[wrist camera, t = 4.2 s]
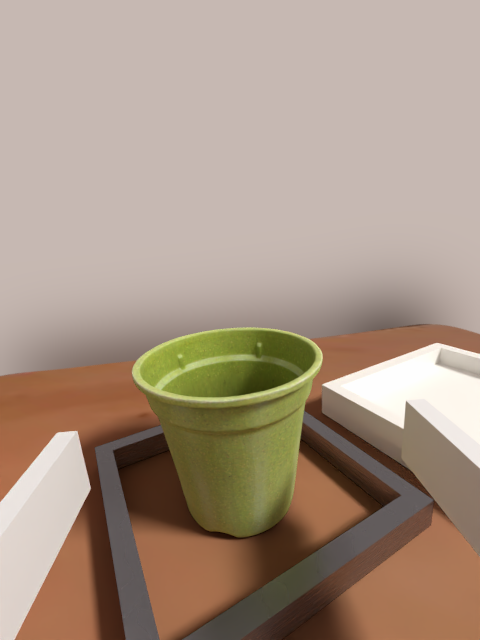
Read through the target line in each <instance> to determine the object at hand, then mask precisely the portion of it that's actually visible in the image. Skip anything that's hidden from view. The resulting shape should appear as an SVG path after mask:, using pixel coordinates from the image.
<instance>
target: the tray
mask: <svg viewBox="0 0 480 640" xmlns="http://www.w3.org/2000/svg"><path fill="white" fill-rule="evenodd" d="M417 399H425V400H426V401H428V402H429V403H430V404H431V405H432V406H434V407H435V408H436V409H437V410H438V411H440V412H441V413H442V414H443V415H445V416H446V417H447V418H448V419H449V420H451V421H452V422H453V423H454V424H455V425H457V426H458V427H459V428H460V429H461V430H463V431H464V432H465V433H466V434H468V435H469V436H470V437H471V438H472V439H474V440H475V441H476V442H477V443H478V444H480V354H477V353H473V352H469V351H466V350H462V349H458V348H454V347H451V346H447V345H443V344H439V343H435V344H432V345H430V346H427V347H424V348H421V349H419V350H416V351H413V352H410V353H408V354H405V355H402V356H399V357H397V358H394V359H391V360H388V361H386V362H383V363H380V364H377V365H375V366H372V367H369V368H366V369H364V370H361V371H358V372H355V373H353V374H350V375H347V376H344V377H342V378H339V379H336V380H333V381H331V382H328V383H325V384H322V413H323V414H325V415H326V416H328V417H329V418H331V419H332V420H334V421H336V422H337V423H339V424H340V425H342V426H343V427H345V428H346V429H348V430H349V431H351V432H352V433H354V434H356V435H357V436H359V437H360V438H362V439H363V440H365V441H366V442H368V443H369V444H371V445H372V446H374V447H375V448H377V449H379V450H380V451H382V452H383V453H385V454H386V455H388V456H389V457H391V458H392V459H394V460H395V461H397V462H398V463H400V464H402V465H403V466H405V467H406V468H408V469H409V470H410V468H409V467H408V466H407V465H406V463H405V462H404V461H403V460H402V458H401V456H402V443H403V430H404V418H405V405H406V400H417Z"/></svg>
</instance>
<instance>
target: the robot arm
mask: <svg viewBox="0 0 480 640" xmlns="http://www.w3.org/2000/svg"><path fill="white" fill-rule="evenodd" d="M401 458H402V460H403V461H404V462H405V463H406V465H407V466H408V467H409V468H410V470H411V471H412V472H413V473H414V475H415V476H416V477H417V478H418V480H419V481H420V482H421V483H422V485H423V486H424V487H425V489H426V490H427V491H428V492H429V494H430V495H431V496H432V497H433V499H434V500H435V501H436V502H437V504H438V505H439V506H440V507H441V509H442V510H443V511H444V512H445V514H446V515H447V516H448V517H449V519H450V520H451V521H452V523H453V524H454V525H455V526H456V528H457V529H458V530H459V531H460V533H461V534H462V535H463V536H464V538H465V539H466V540H467V541H468V543H469V544H470V545H471V546H472V548H473V549H474V550H475V552H476V553H477V554H478V555H479V557H480V444H478V443H477V442H476V441H475V440H474V439H472V438H471V437H470V436H469V435H468V434H466V433H465V432H464V431H463V430H461V429H460V428H459V427H458V426H457V425H455V424H454V423H453V422H452V421H451V420H449V419H448V418H447V417H446V416H445V415H443V414H442V413H441V412H440V411H438V410H437V409H436V408H435V407H434V406H432V405H431V404H430V403H429V402H428V401H426V400H425V399H417V400H406V405H405V418H404V430H403V443H402V456H401ZM90 489H91V487H90V483H89V478H88V474H87V470H86V466H85V462H84V457H83V453H82V449H81V445H80V441H79V436H78V432H77V431H70V432H60V433H57V434H56V435H55V436H54V437H53V439H52V440H51V441H50V442H49V443H48V445H47V446H46V447H45V448H44V450H43V451H42V452H41V453H40V454H39V456H38V457H37V458H36V459H35V461H34V462H33V463H32V464H31V466H30V467H29V468H28V469H27V470H26V472H25V473H24V474H23V475H22V477H21V478H20V479H19V480H18V481H17V483H16V484H15V485H14V486H13V488H12V489H11V490H10V491H9V493H8V494H7V495H6V496H5V497H4V499H3V500H2V501H1V502H0V640H14V639H15V637H16V635H17V633H18V631H19V629H20V628H21V626H22V624H23V622H24V620H25V618H26V616H27V614H28V612H29V610H30V608H31V606H32V604H33V602H34V600H35V598H36V596H37V594H38V592H39V590H40V588H41V586H42V584H43V582H44V580H45V578H46V576H47V574H48V572H49V570H50V568H51V566H52V564H53V562H54V560H55V558H56V557H57V555H58V553H59V551H60V549H61V547H62V545H63V543H64V541H65V539H66V537H67V535H68V533H69V531H70V529H71V527H72V525H73V523H74V521H75V519H76V517H77V515H78V513H79V511H80V509H81V507H82V505H83V503H84V501H85V499H86V497H87V495H88V493H89V491H90Z"/></svg>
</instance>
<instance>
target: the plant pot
mask: <svg viewBox="0 0 480 640" xmlns="http://www.w3.org/2000/svg"><path fill="white" fill-rule="evenodd" d="M321 365H322V352H321V350H320V349H319V348H318V346H317V345H316V344H315V343H314V342H312V341H311V340H309V339H307V338H305V337H303V336H300V335H298V334H294V333H291V332H285V331H282V330H276V329H267V328H229V329H219V330H211V331H205V332H200V333H195V334H190V335H186V336H182V337H179V338H175V339H173V340H170V341H168V342H165V343H163V344H160V345H158V346H156V347H155V348H153V349H152V350H150V351H147V352H146V353H144V354H143V355H142V356H141V357H140V358H139V359H138V360H137V361H136V363H135V364H134V366H133V369H132V377H133V381H134V383H135V385H136V387H137V388H138V389H139V390H140V391H141V392H142V393H144V394H145V395H146V396H147V399H148V402H149V404H150V407H151V409H152V410H153V412H154V413H155V414H156V415H157V416H158V418H159V421H160V423H161V426H162V429H163V432H164V435H165V438H166V441H167V444H168V447H169V450H170V452H171V455H172V458H173V461H174V464H175V467H176V470H177V473H178V476H179V479H180V483H181V486H182V489H183V493H184V496H185V499H186V502H187V505H188V508H189V511H190V513H191V515H192V517H193V518H194V519H195V521H196V522H197V523H198V524H199V525H200V526H201V527H203V528H204V529H206V530H208V531H218V532H223V533H227V534H230V535H233V536H235V537H248V536H252V535H256V534H259V533H261V532H264V531H266V530H268V529H270V528H271V527H273V526H274V525H276V524H277V523H278V522H279V521H280V520H281V519H282V518H283V517H284V516H285V514H286V513H287V511H288V509H289V507H290V504H291V501H292V497H293V493H294V485H295V478H296V469H297V461H298V453H299V445H300V437H301V430H302V421H303V414H304V408H305V401H306V400H307V398H308V396H309V394H310V391H311V387H312V381H313V378H314V377H315V376H316V375H317V373H318V372H319V370H320V368H321Z"/></svg>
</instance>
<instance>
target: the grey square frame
mask: <svg viewBox="0 0 480 640" xmlns="http://www.w3.org/2000/svg"><path fill="white" fill-rule="evenodd" d="M300 438H301V439H302V440H303V441H304V442H306V443H307V444H308V445H309V446H310V447H312V448H313V449H314V450H315V451H317V452H318V453H319V454H320V455H321V456H323V457H324V458H325V459H326V460H328V461H329V462H330V463H331V464H332V465H334V466H335V467H336V468H337V469H339V470H340V471H341V472H342V473H343V474H345V475H346V476H347V477H348V478H350V479H351V480H352V481H353V482H354V483H356V484H357V485H358V486H359V487H361V488H362V489H363V490H364V491H365V492H367V493H368V494H369V495H370V496H372V497H373V498H374V499H375V500H376V501H378V502H379V503H380V504H381V505H383V506H384V507H383V508H381V509H380V510H378V511H377V512H375V513H374V514H372V515H371V516H369V517H368V518H366V519H365V520H363V521H362V522H360V523H359V524H357V525H356V526H354V527H353V528H351V529H349V530H348V531H346V532H345V533H343V534H342V535H340V536H339V537H337V538H336V539H334V540H333V541H331V542H330V543H328V544H327V545H325V546H324V547H322V548H321V549H319V550H318V551H316V552H315V553H313V554H312V555H310V556H308V557H307V558H305V559H304V560H302V561H301V562H299V563H298V564H296V565H295V566H293V567H292V568H290V569H289V570H287V571H286V572H284V573H283V574H281V575H280V576H278V577H277V578H275V579H274V580H272V581H271V582H269V583H267V584H266V585H264V586H263V587H261V588H260V589H258V590H257V591H255V592H254V593H252V594H251V595H249V596H248V597H246V598H245V599H243V600H242V601H240V602H239V603H237V604H236V605H234V606H233V607H231V608H230V609H228V610H227V611H225V612H223V613H222V614H220V615H219V616H217V617H216V618H214V619H213V620H211V621H210V622H208V623H207V624H205V625H204V626H202V627H201V628H199V629H198V630H196V631H195V632H193V633H192V634H190V635H189V636H187V637H186V638H184V639H182V640H282V639H283V638H285V637H286V636H287V635H289V634H290V633H291V632H292V631H294V630H295V629H296V628H298V627H299V626H300V625H302V624H303V623H304V622H305V621H307V620H308V619H309V618H311V617H312V616H313V615H315V614H316V613H317V612H318V611H320V610H321V609H322V608H324V607H325V606H326V605H328V604H329V603H330V602H331V601H333V600H334V599H335V598H337V597H338V596H339V595H341V594H342V593H343V592H344V591H346V590H347V589H348V588H350V587H351V586H352V585H354V584H355V583H356V582H357V581H359V580H360V579H361V578H363V577H364V576H365V575H367V574H368V573H369V572H370V571H372V570H373V569H374V568H376V567H377V566H378V565H380V564H381V563H382V562H383V561H385V560H386V559H387V558H389V557H390V556H391V555H393V554H394V553H395V552H396V551H398V550H399V549H400V548H402V547H403V546H404V545H406V544H407V543H408V542H409V541H411V540H412V539H413V538H415V537H416V536H417V535H419V534H420V533H421V532H422V531H424V530H425V529H426V528H428V527H429V526H430V525H431V521H432V512H433V504H434V500H433V499H431V498H430V497H428V496H427V495H426V494H424V493H423V492H421V491H420V490H418V489H417V488H415V487H414V486H412V485H411V484H410V483H408V482H407V481H405V480H404V479H402V478H401V477H399V476H398V475H397V474H395V473H394V472H392V471H391V470H389V469H388V468H386V467H385V466H384V465H382V464H381V463H379V462H378V461H376V460H375V459H373V458H372V457H371V456H369V455H368V454H366V453H365V452H363V451H362V450H360V449H359V448H357V447H356V446H355V445H353V444H352V443H350V442H349V441H347V440H346V439H344V438H343V437H342V436H340V435H339V434H337V433H336V432H334V431H333V430H331V429H330V428H329V427H327V426H326V425H324V424H323V423H321V422H320V421H318V420H317V419H316V418H314V417H313V416H311V415H310V414H308V413H307V412H305V411H304V414H303V421H302V430H301V437H300ZM167 450H169V447H168V444H167V441H166V438H165V435H164V432H163V429H162V426H161V425H160V426H157V427H154V428H151V429H148V430H145V431H142V432H139V433H136V434H133V435H130V436H127V437H124V438H121V439H118V440H115V441H112V442H109V443H106V444H103V445H101V446H98V447H95V452H96V459H97V465H98V471H99V477H100V483H101V489H102V496H103V502H104V508H105V514H106V520H107V526H108V532H109V539H110V545H111V551H112V557H113V563H114V569H115V576H116V582H117V588H118V594H119V600H120V606H121V613H122V619H123V625H124V631H125V637H126V640H159V636H158V632H157V628H156V624H155V620H154V616H153V612H152V607H151V603H150V599H149V595H148V591H147V587H146V583H145V579H144V575H143V571H142V567H141V563H140V559H139V555H138V551H137V547H136V543H135V539H134V535H133V531H132V526H131V522H130V518H129V514H128V510H127V506H126V502H125V498H124V494H123V490H122V486H121V482H120V478H119V474H118V470H117V469H120V468H122V467H125V466H128V465H130V464H133V463H135V462H138V461H141V460H143V459H146V458H149V457H151V456H154V455H157V454H159V453H162V452H165V451H167Z"/></svg>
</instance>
